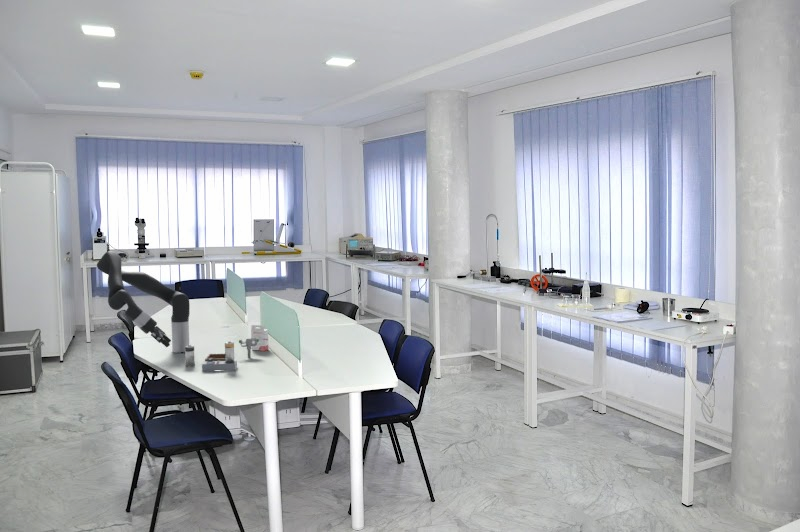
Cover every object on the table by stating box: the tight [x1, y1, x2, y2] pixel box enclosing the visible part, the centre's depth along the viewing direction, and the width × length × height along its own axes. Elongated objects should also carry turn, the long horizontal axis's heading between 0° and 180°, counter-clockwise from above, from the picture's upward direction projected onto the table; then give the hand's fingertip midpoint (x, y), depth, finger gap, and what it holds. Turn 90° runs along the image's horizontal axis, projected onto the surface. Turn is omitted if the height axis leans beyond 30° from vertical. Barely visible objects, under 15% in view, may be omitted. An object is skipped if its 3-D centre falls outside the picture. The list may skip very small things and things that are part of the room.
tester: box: [201, 360, 238, 372], centre depth 321 cm, size 6×16×4 cm, turn 96°
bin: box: [204, 353, 225, 361], centre depth 334 cm, size 11×11×4 cm
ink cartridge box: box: [250, 324, 269, 352], centre depth 363 cm, size 9×5×15 cm, turn 76°
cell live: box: [224, 341, 235, 363], centre depth 321 cm, size 4×4×11 cm
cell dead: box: [184, 344, 196, 367], centre depth 328 cm, size 4×4×11 cm
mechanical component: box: [238, 338, 259, 358], centre depth 346 cm, size 3×10×10 cm, turn 111°
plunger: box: [206, 358, 214, 364], centre depth 320 cm, size 4×4×5 cm
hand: (169, 344), depth 325 cm, fingers open, 8 cm apart
